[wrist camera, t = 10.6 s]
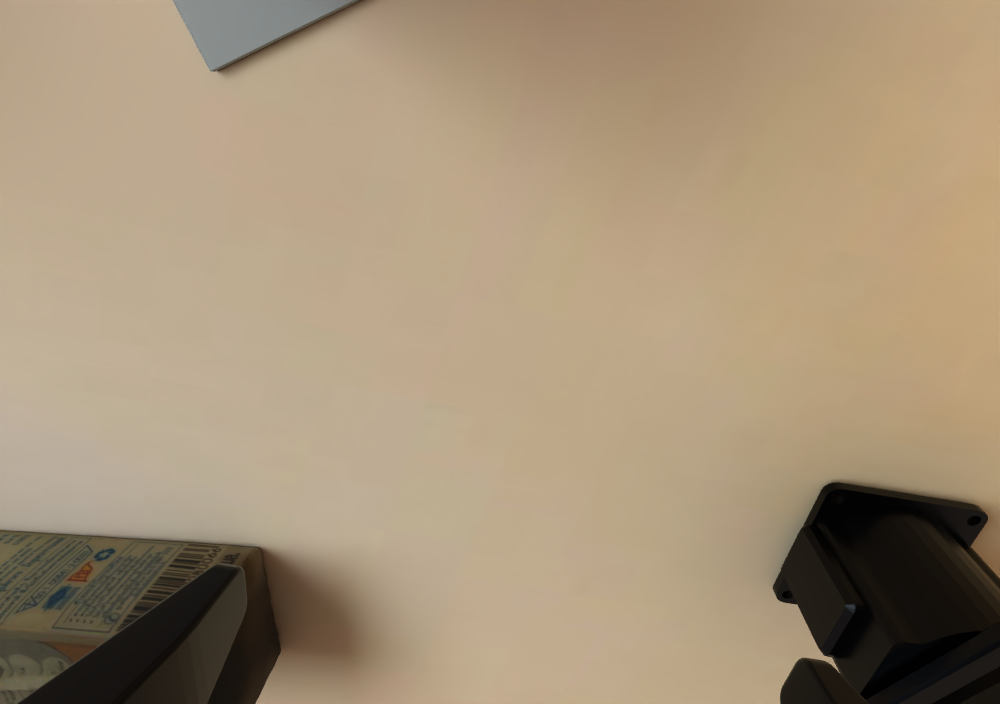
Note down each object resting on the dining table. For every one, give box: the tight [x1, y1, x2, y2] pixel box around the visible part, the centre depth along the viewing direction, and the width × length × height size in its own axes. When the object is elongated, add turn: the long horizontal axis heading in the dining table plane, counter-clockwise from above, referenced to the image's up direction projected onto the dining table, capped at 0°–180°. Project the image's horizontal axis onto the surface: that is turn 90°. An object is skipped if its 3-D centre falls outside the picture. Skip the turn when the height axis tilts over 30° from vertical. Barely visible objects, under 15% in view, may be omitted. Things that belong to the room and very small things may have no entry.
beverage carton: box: [0, 530, 281, 704], centre depth 26 cm, size 8×19×7 cm, turn 90°
